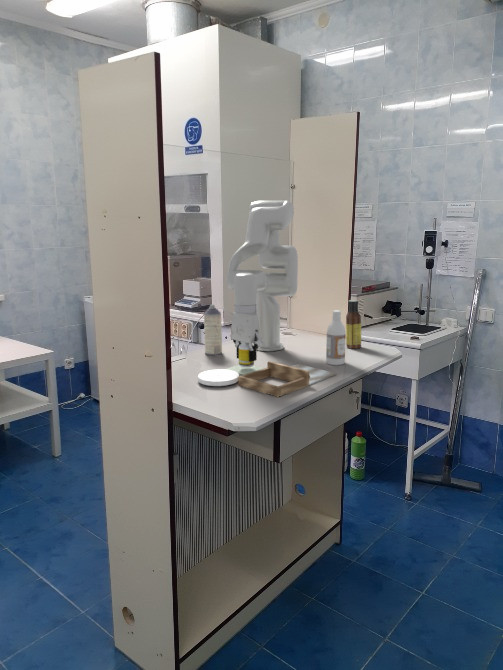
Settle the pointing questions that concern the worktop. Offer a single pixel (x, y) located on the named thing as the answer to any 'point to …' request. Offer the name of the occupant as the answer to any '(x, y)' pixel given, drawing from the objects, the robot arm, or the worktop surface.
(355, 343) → the sauce bottle
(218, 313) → the aerosol can
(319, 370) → the frame
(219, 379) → the plastic lid
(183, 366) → the worktop surface
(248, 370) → the tray
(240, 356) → the supplement bottle
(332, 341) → the bath foam
